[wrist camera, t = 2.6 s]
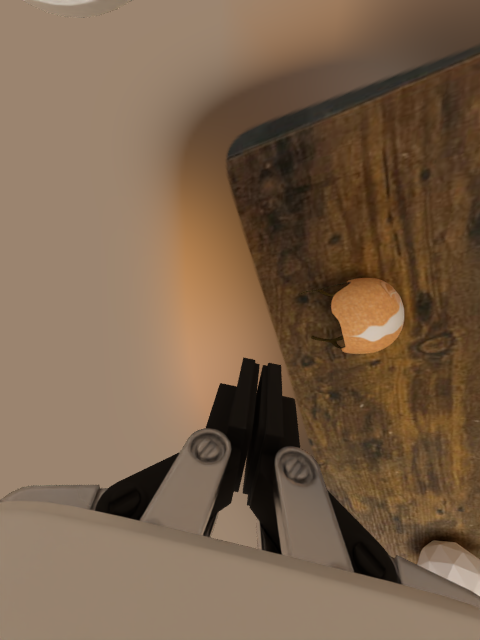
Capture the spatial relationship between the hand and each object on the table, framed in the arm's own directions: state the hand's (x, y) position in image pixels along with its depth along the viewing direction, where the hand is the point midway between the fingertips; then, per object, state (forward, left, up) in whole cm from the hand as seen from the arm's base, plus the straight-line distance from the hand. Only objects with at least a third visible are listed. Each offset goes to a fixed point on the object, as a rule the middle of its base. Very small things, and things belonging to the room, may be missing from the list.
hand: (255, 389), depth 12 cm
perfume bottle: (+41, +12, -14) cm, 45 cm away
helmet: (+3, +6, -14) cm, 16 cm away
